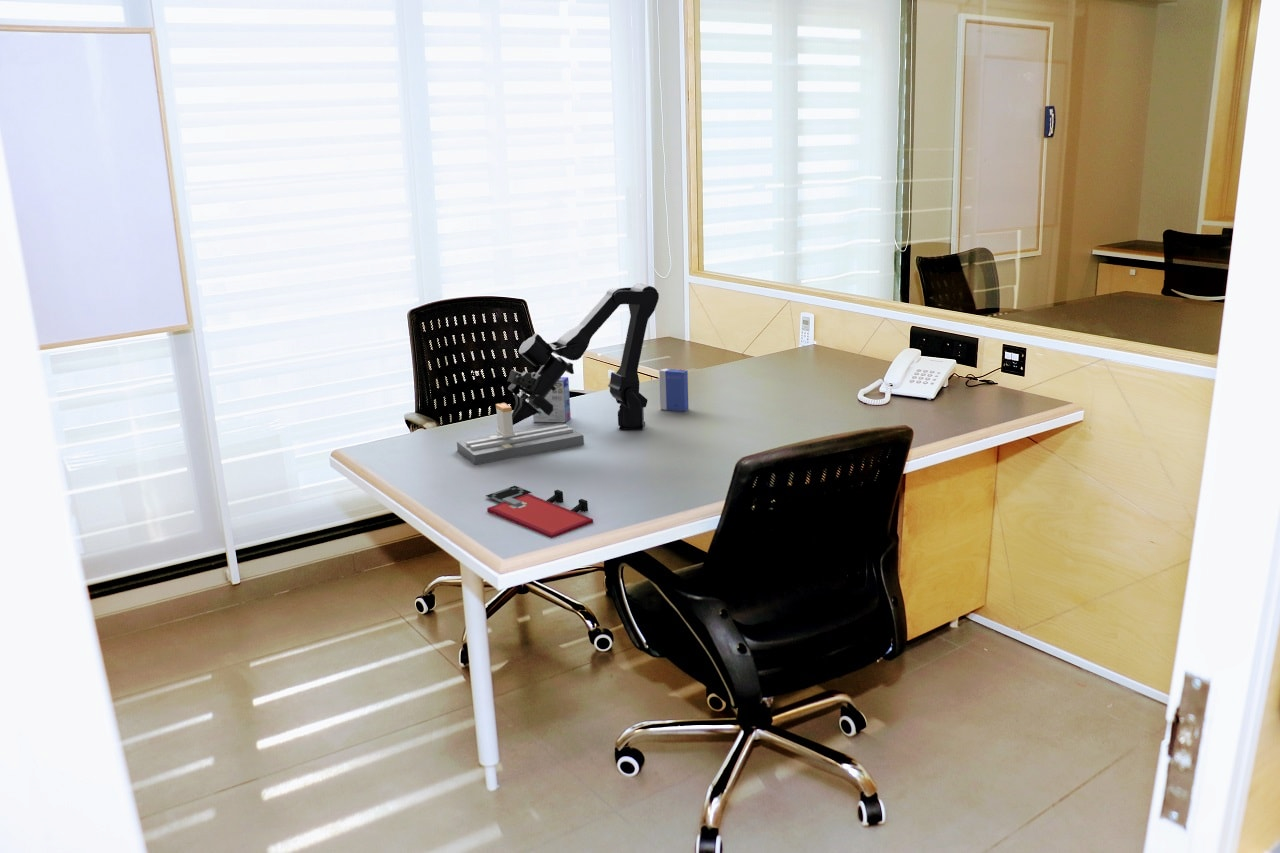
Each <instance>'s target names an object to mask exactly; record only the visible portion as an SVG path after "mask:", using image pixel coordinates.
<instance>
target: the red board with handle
mask: <svg viewBox="0 0 1280 853" xmlns="http://www.w3.org/2000/svg"><path fill="white" fill-rule="evenodd" d="M531 493H533V492H532V491H530V490H527V489H524V488H522V487H520V486H517V485H513V486H509V487H507V488H504V489H502V490H498V491H495V492H491V493H488V494H486V495H485V497H487V498H489V499H492V500H495V501H497V502H499V503H498V504H495V505H492V506H489V507H487V511H486V512H488V513H489V514H491V515H495V516H496V517H499V518H502V519H505V521H506V520H507V521H509V522H511V523H514V524H517V525H519V526H522V527H524V528H526V529H528V530H531V531H534V532H535V533H536V532H537V533H539V534H541V535H544V536H546V537H547V538H551V539H552V538H555V537H558V536H561V535H563V534H564V535H565V534H567V533H568V532H571V531H574V530H577V529H580V528H584V527H585V526H588V525H590V524H594V519H593V518H591V517H589V516H586V515H584V514H581V513H579V512H580V510H581V512H583V511H584V513H586V512H589V506H588V505H589V504H588V500H586V499H583V498H580V499H578V504H577V505H575V506H574V507H573V508H571V509H568V508H566V507H564V506H561V505H558V504H556V503H559V504H561V503H564V493H563V491H562V490H559V489H556V490H554V492H553V495H552V496H551V497H549V498H548V499H543V498H540V497H537V496H535V495H533V494H531ZM555 502H556V503H555ZM585 511H586V512H585Z"/></svg>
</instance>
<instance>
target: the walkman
mask: <svg viewBox="0 0 1280 853" xmlns="http://www.w3.org/2000/svg"><path fill="white" fill-rule="evenodd" d="M658 372H659V402H660V403H659V404H660V410H662V409H663V410H665V411H674V412H684V411H685V412H687V411H688V410H689V409H690V408H689V376H688V375H689V374H688V370H686V369H684V368H679V369H671V368H663V369H660V370H659V371H658Z"/></svg>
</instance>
